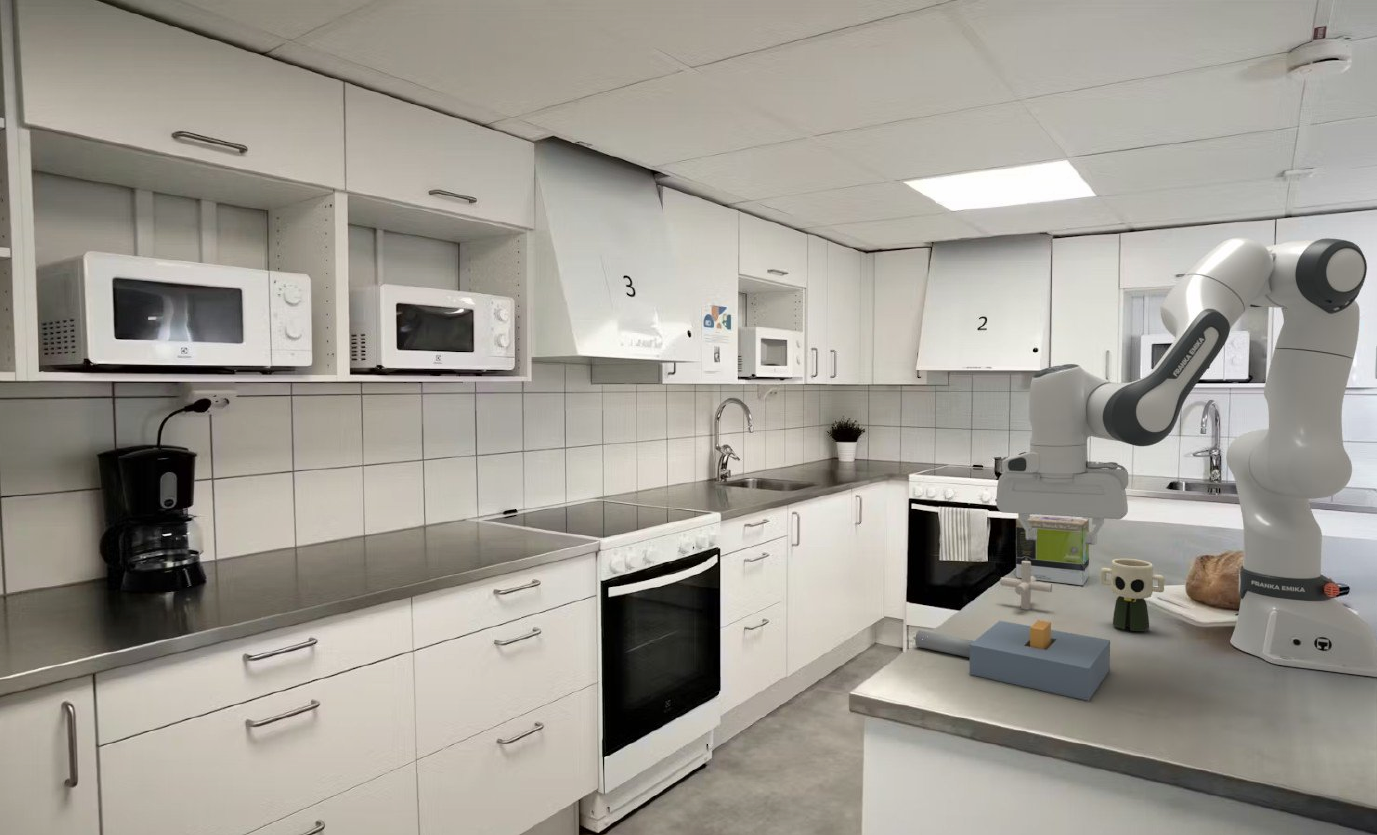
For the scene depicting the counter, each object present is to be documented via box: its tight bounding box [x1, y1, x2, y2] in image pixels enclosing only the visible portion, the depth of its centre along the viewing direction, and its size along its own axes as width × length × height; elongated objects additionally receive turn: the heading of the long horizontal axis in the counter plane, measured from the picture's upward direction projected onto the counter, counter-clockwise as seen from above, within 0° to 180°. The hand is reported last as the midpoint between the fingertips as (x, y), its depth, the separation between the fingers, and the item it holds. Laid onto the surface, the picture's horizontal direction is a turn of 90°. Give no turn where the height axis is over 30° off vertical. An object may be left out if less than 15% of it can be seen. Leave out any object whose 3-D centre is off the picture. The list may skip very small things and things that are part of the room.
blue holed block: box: [914, 620, 1111, 701], centre depth 136 cm, size 30×16×5 cm, turn 52°
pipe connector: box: [999, 561, 1053, 611], centre depth 167 cm, size 10×10×10 cm
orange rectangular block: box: [1030, 620, 1052, 650], centre depth 132 cm, size 5×2×8 cm, turn 142°
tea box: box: [1015, 514, 1090, 586], centre depth 192 cm, size 15×10×15 cm, turn 56°
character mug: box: [1100, 558, 1165, 632], centre depth 153 cm, size 11×7×13 cm, turn 50°
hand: (1060, 541), depth 135 cm, fingers open, 8 cm apart
